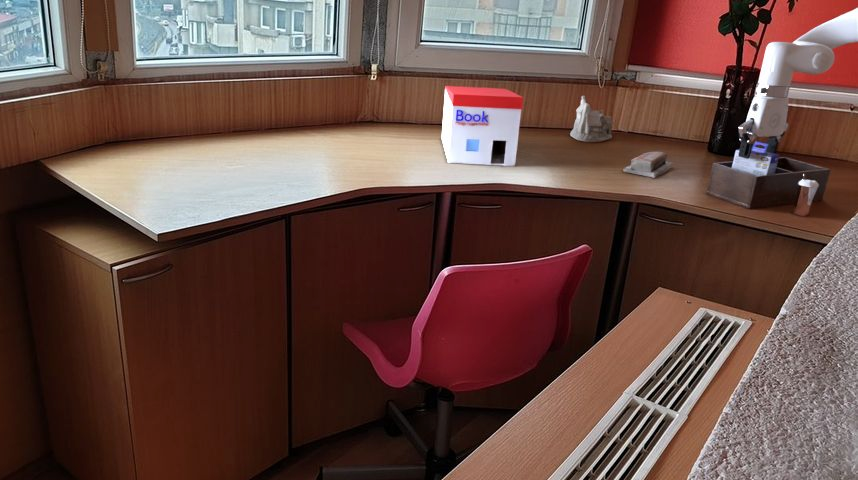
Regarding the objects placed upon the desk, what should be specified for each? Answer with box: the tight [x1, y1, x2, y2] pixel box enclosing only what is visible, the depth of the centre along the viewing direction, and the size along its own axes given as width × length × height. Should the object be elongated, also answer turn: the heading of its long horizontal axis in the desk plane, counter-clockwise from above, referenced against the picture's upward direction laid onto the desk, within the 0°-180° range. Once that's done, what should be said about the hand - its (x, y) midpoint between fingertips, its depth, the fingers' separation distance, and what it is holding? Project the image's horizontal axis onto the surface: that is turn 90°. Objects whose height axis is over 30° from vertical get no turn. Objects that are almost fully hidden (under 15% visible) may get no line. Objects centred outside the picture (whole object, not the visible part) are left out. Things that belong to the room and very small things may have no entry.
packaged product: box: [622, 151, 674, 179], centre depth 222 cm, size 18×5×10 cm
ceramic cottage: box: [569, 95, 613, 143], centre depth 263 cm, size 16×16×15 cm
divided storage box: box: [706, 156, 832, 210], centre depth 198 cm, size 15×28×9 cm, turn 114°
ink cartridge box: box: [732, 141, 780, 176], centre depth 194 cm, size 10×6×14 cm, turn 41°
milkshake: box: [792, 174, 819, 217], centre depth 184 cm, size 4×5×10 cm
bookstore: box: [441, 85, 524, 167], centre depth 232 cm, size 21×35×21 cm, turn 0°
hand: (756, 156), depth 193 cm, fingers open, 9 cm apart
